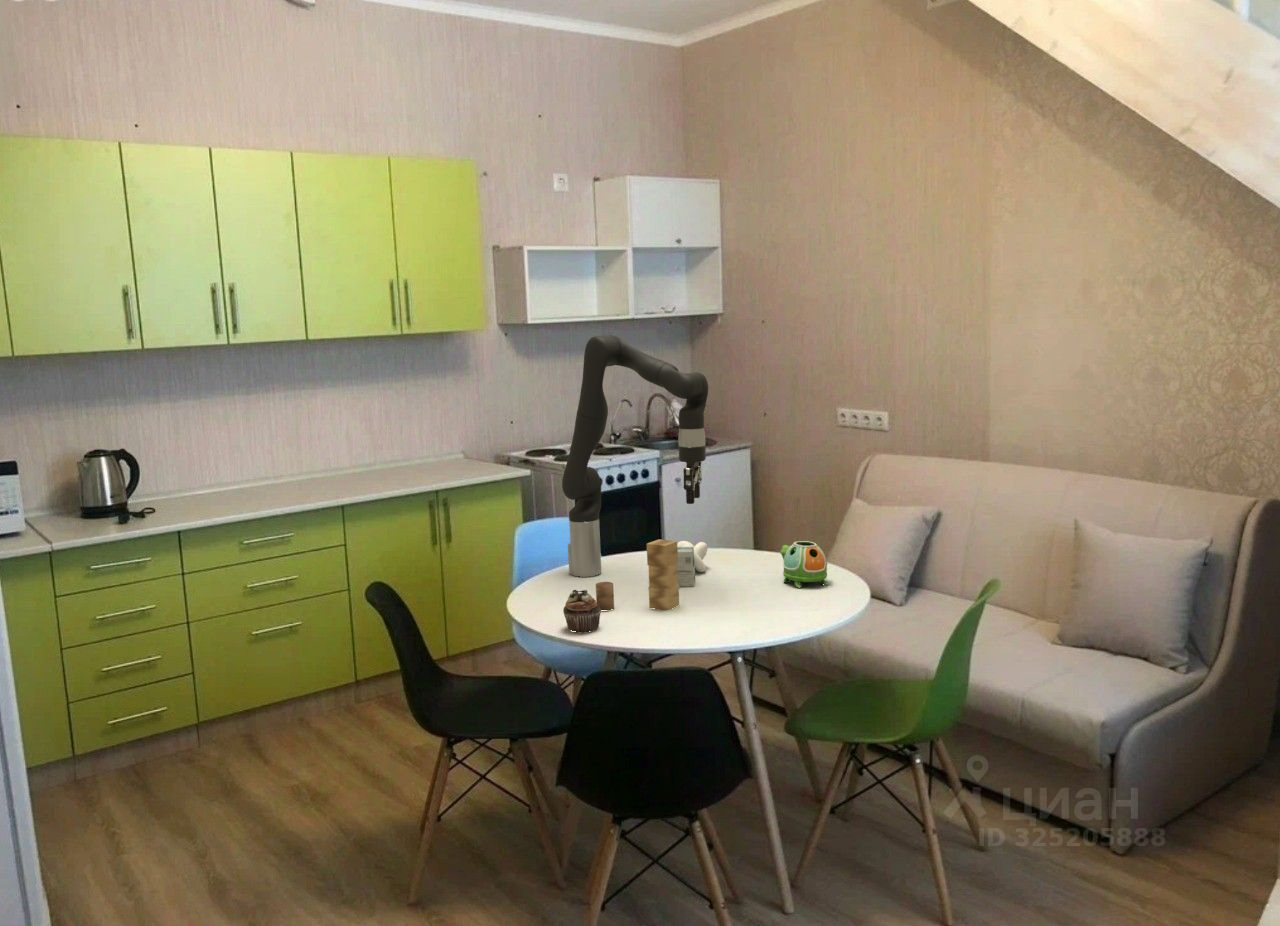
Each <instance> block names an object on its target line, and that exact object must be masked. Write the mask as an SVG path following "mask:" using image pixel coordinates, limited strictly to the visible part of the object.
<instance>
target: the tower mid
mask: <svg viewBox="0 0 1280 926" xmlns="http://www.w3.org/2000/svg"><path fill="white" fill-rule="evenodd" d="M647 566H648V565H647ZM676 584H678V576H677V563H676V564H674V565H672V566H669V567H667V568H664V567H656V566H648V589H649V588H661V589H671V588H672V587H674V586H675V585H676Z"/></svg>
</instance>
